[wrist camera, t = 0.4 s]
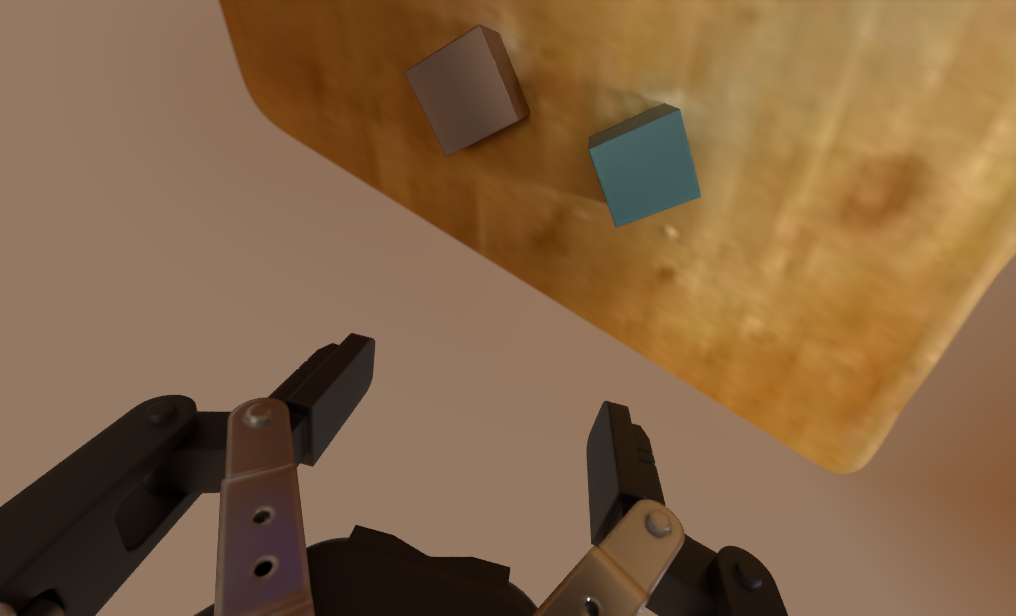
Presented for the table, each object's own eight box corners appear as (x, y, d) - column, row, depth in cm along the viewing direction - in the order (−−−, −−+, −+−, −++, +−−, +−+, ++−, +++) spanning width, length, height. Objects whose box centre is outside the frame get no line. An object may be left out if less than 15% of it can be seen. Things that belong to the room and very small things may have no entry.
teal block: (664, 102, 25) (679, 108, 21) (684, 177, 27) (701, 196, 23) (588, 137, 27) (588, 149, 23) (612, 205, 29) (615, 228, 25)
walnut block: (499, 32, 25) (480, 23, 21) (530, 113, 27) (519, 120, 22) (433, 72, 27) (403, 71, 22) (467, 145, 29) (445, 157, 24)
